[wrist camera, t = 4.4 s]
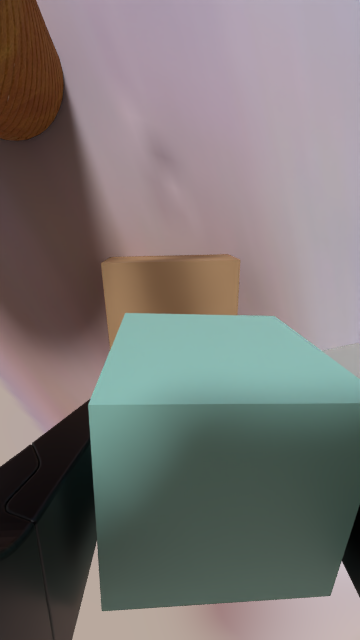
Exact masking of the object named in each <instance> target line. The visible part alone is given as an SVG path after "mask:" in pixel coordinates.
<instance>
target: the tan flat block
mask: <svg viewBox="0 0 360 640" xmlns="http://www.w3.org/2000/svg"><path fill="white" fill-rule="evenodd" d="M101 270H102V279H103V288H104V297H105V306H106V316H107V325H108V334H109V343H110V350H111V347H112V345H113V342H114V340H115V337H116V335H117V332H118V330H119V327H120V325H121V322H122V320H123V317H124V315H125V313H151V314H199V315H237V311H238V292H239V273H240V259H237V258H235V257H233V256H231V255H228V254H221V255H179V256H136V257H110V258H108V259H107V260H105V261H104V262H102V263H101Z"/></svg>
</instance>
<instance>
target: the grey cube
mask: <svg viewBox="0 0 360 640" xmlns="http://www.w3.org/2000/svg"><path fill="white" fill-rule="evenodd" d="M322 352H324V353H325V354H326V355H328V356H329V357H331V358H332V359H333V360H335V361H336V362H337V363H339V364H340V365H341V366H343V367H344V368H345V369H347V370H348V371H350V372H351V373H352V374H354V375H355V376H356V377H358V378H359V379H360V344H359V343H355V344H351V345H346V346H342V347H337V348H333V349H328V350H324V351H322Z"/></svg>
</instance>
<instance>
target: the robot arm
mask: <svg viewBox="0 0 360 640" xmlns="http://www.w3.org/2000/svg"><path fill="white" fill-rule="evenodd" d="M89 402H90V399H89V400H88V401H87V402H85V403H84V404H83V405H81V406H80V407H79V408H78V409H76V410H75V411H74V412H72V413H71V414H70V415H68V416H67V417H66V418H64V419H63V420H62V421H60V422H59V423H58V424H57V425H55V426H54V427H53V428H51V429H50V430H49V431H47V432H46V433H45V434H43V435H42V436H41V437H39V438H38V439H37V440H36V441H34V442H33V443H32V445H29V446H27V447H26V448H25V449H24V450H22V451H21V452H20V453H18V454H17V455H16V456H14V457H13V458H11V459H10V460H9V461H7V462H6V463H5V464H3V465H2V466H0V640H72V637H73V633H74V629H75V625H76V621H77V618H78V614H79V610H80V606H81V602H82V598H83V594H84V589H85V586H86V582H87V578H88V574H89V569H90V566H91V562H92V557H93V554H94V550H95V546H96V542H97V531H96V515H95V500H94V485H93V470H92V455H91V440H90V425H89V410H88V404H89ZM342 562H343V564H344V566H345V568H346V570H347V572H348V574H349V576H350V578H351V580H352V582H353V584H354V586H355V589H356V590H357V593H358V594H359V597H360V505H359V508H358V511H357V514H356V517H355V521H354V524H353V527H352V530H351V533H350V536H349V539H348V542H347V546H346V549H345V552H344V555H343V558H342Z"/></svg>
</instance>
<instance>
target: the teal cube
mask: <svg viewBox="0 0 360 640" xmlns="http://www.w3.org/2000/svg"><path fill="white" fill-rule="evenodd" d="M88 410H89V425H90V440H91V455H92V470H93V485H94V500H95V515H96V531H97V545H98V560H99V576H100V590H101V606H102V611H112V610H128V609H142V608H157V607H172V606H187V605H202V604H217V603H232V602H247V601H261V600H274V599H275V600H277V599H291V598H306V597H321V596H330V595H331V592H332V589H333V586H334V583H335V579H336V577H337V574H338V570H339V567H340V564H341V561H342V558H343V555H344V552H345V549H346V546H347V542H348V539H349V536H350V533H351V530H352V527H353V524H354V521H355V517H356V514H357V511H358V508H359V505H360V379H359V378H358V377H356V376H355V375H354V374H352V373H351V372H350V371H348V370H347V369H345V368H344V367H343V366H341V365H340V364H339V363H337V362H336V361H335V360H333V359H332V358H331V357H329V356H328V355H326V354H325V353H324V352H322V351H321V350H320V349H318V348H317V347H316V346H314V345H313V344H312V343H310V342H309V341H307V340H306V339H305V338H303V337H302V336H301V335H299V334H298V333H297V332H295V331H294V330H293V329H291V328H290V327H289V326H287V325H286V324H284V323H283V322H282V321H280V320H279V319H278V318H276V317H275V316H246V315H199V314H151V313H125V315H124V317H123V320H122V322H121V325H120V327H119V330H118V332H117V335H116V337H115V340H114V342H113V345H112V347H111V350H110V352H109V355H108V357H107V360H106V362H105V364H104V367H103V369H102V372H101V374H100V377H99V379H98V382H97V384H96V387H95V389H94V392H93V394H92V397H91V399H90V402H89V404H88Z"/></svg>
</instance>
